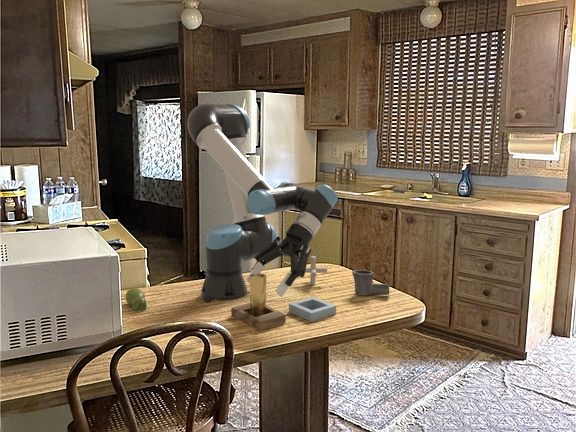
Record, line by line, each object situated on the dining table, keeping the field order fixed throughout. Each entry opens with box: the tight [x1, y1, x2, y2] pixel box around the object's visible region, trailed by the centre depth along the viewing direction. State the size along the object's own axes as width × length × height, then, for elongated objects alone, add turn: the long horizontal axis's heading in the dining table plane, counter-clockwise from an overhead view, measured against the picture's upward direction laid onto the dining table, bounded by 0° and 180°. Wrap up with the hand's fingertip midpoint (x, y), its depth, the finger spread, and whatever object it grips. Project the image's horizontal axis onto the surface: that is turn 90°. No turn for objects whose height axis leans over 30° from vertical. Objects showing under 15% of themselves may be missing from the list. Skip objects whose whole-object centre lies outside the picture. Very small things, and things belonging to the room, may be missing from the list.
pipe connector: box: [305, 255, 328, 286], centre depth 193 cm, size 10×10×10 cm
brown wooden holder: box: [230, 302, 287, 332], centre depth 156 cm, size 14×9×4 cm, turn 40°
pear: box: [124, 287, 148, 312], centre depth 168 cm, size 6×5×10 cm
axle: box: [249, 273, 267, 317], centre depth 154 cm, size 5×5×13 cm
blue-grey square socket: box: [288, 296, 337, 322], centre depth 161 cm, size 10×10×4 cm
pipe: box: [351, 269, 390, 297], centre depth 182 cm, size 6×13×8 cm, turn 79°
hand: (263, 288), depth 155 cm, fingers open, 13 cm apart
